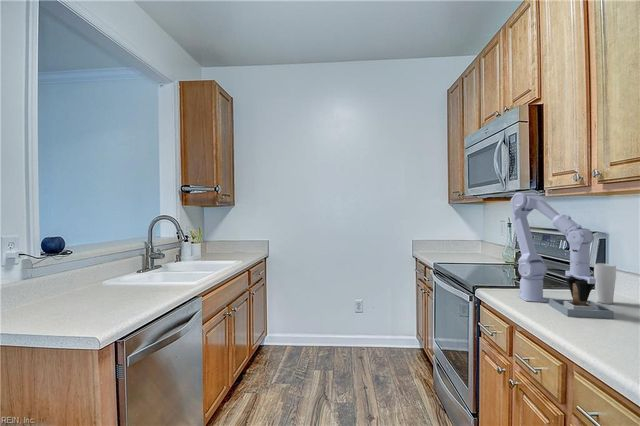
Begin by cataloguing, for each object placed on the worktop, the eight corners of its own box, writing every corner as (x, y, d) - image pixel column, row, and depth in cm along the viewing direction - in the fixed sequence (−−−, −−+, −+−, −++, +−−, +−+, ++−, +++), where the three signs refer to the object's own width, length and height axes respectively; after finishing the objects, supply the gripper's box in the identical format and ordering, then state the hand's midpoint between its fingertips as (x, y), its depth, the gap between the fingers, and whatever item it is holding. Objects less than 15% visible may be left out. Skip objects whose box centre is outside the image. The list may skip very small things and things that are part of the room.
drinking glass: (589, 301, 140) (590, 264, 140) (600, 299, 143) (601, 263, 143) (608, 305, 134) (609, 266, 134) (619, 303, 137) (620, 265, 136)
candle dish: (549, 305, 135) (549, 298, 135) (590, 307, 132) (590, 299, 132) (567, 316, 121) (567, 308, 121) (613, 318, 119) (613, 310, 119)
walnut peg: (570, 304, 129) (570, 282, 129) (581, 304, 129) (582, 283, 128) (576, 307, 125) (577, 285, 125) (589, 307, 125) (589, 285, 124)
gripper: (556, 259, 134) (556, 294, 135) (579, 265, 120) (579, 304, 120) (576, 259, 133) (576, 294, 134) (602, 265, 119) (602, 305, 119)
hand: (579, 299), depth 127 cm, fingers closed on walnut peg, 4 cm apart
